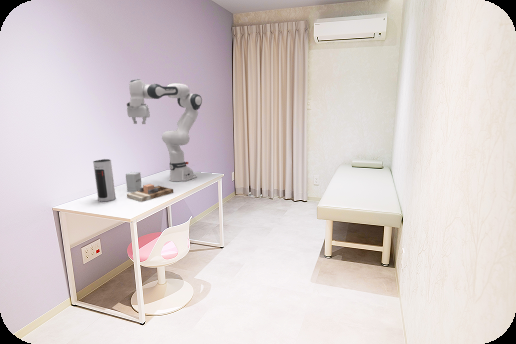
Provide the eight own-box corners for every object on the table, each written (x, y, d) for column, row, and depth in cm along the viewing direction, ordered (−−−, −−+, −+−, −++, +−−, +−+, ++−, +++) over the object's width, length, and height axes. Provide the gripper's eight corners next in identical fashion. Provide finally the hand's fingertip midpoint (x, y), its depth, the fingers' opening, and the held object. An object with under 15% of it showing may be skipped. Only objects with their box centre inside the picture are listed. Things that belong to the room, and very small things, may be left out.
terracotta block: (150, 190, 221) (149, 183, 220) (154, 191, 218) (154, 185, 217) (143, 192, 217) (143, 185, 216) (148, 193, 214) (147, 186, 213)
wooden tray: (159, 189, 233) (158, 182, 232) (173, 192, 224) (172, 185, 222) (127, 197, 214) (126, 190, 213) (141, 201, 204) (140, 194, 203)
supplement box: (136, 192, 227) (134, 174, 224) (127, 191, 228) (125, 174, 226) (142, 189, 234) (140, 172, 231) (132, 188, 235) (131, 171, 233)
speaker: (94, 201, 207) (89, 161, 201) (106, 196, 217) (101, 158, 211) (107, 202, 204) (102, 161, 198) (119, 197, 213) (115, 158, 208)
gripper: (151, 103, 221) (152, 124, 224) (132, 103, 232) (134, 123, 235) (143, 103, 215) (145, 124, 218) (124, 103, 227) (126, 123, 230)
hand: (139, 123), depth 227 cm, fingers open, 8 cm apart
